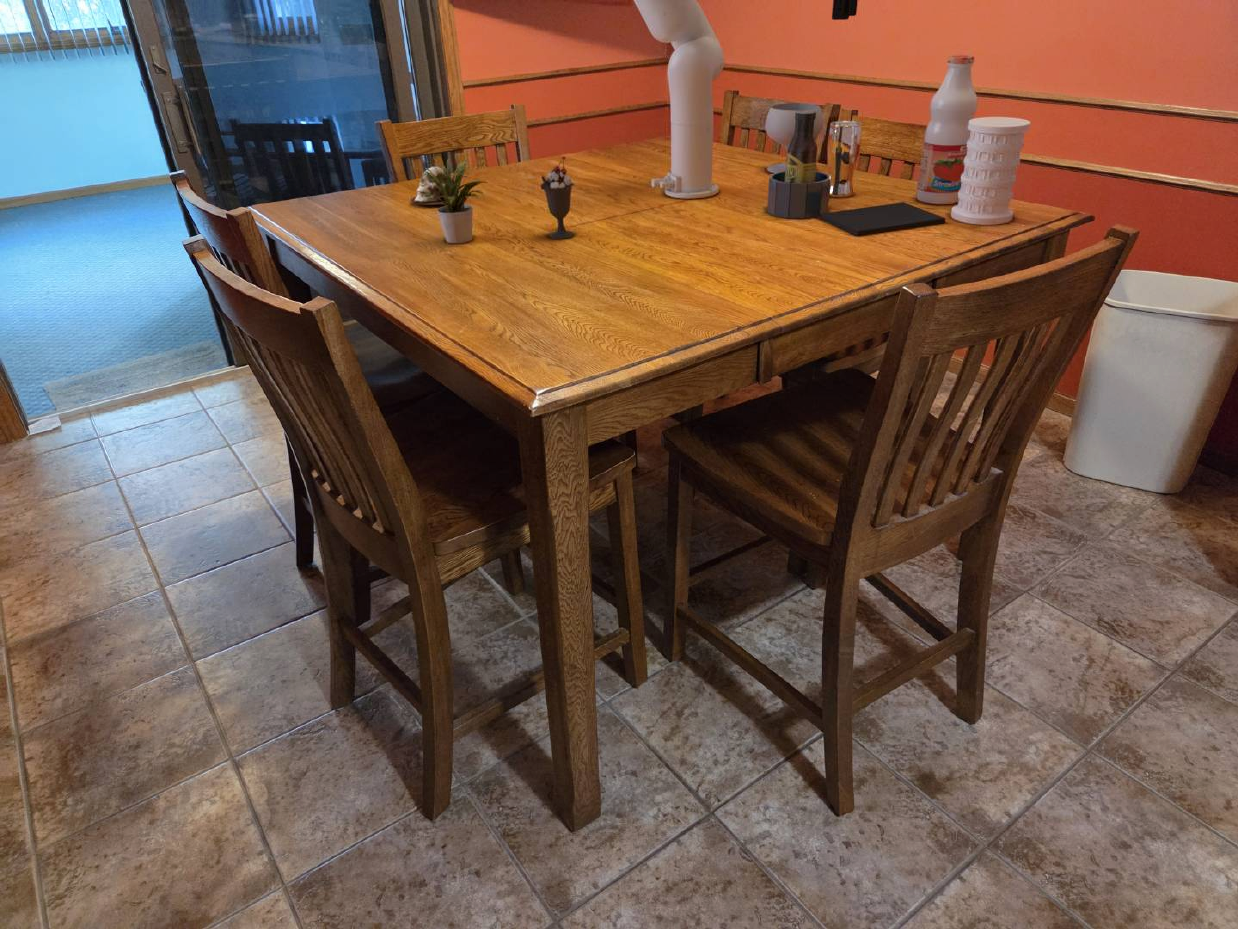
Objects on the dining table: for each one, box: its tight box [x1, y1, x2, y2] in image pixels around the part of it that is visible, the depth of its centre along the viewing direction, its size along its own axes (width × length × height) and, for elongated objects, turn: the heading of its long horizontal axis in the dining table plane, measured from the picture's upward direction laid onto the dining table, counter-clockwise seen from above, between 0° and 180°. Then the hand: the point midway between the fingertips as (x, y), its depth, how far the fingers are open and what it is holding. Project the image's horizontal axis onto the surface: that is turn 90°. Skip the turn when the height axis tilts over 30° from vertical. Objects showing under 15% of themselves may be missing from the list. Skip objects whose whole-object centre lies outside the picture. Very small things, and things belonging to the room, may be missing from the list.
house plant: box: [415, 156, 485, 244], centre depth 161 cm, size 14×14×16 cm
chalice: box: [764, 102, 824, 174], centre depth 202 cm, size 14×14×15 cm
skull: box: [410, 166, 459, 206], centre depth 193 cm, size 12×10×10 cm
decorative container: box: [950, 116, 1031, 226], centre depth 160 cm, size 12×12×18 cm
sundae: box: [540, 156, 575, 240], centre depth 162 cm, size 7×7×15 cm
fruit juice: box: [915, 54, 979, 205], centre depth 169 cm, size 9×9×28 cm
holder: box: [766, 170, 831, 220], centre depth 172 cm, size 13×13×7 cm
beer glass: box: [826, 120, 862, 198], centre depth 180 cm, size 7×7×15 cm
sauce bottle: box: [785, 110, 818, 183], centre depth 169 cm, size 7×6×20 cm
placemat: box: [819, 201, 946, 237], centre depth 165 cm, size 20×14×1 cm
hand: (844, 17), depth 162 cm, fingers open, 9 cm apart
